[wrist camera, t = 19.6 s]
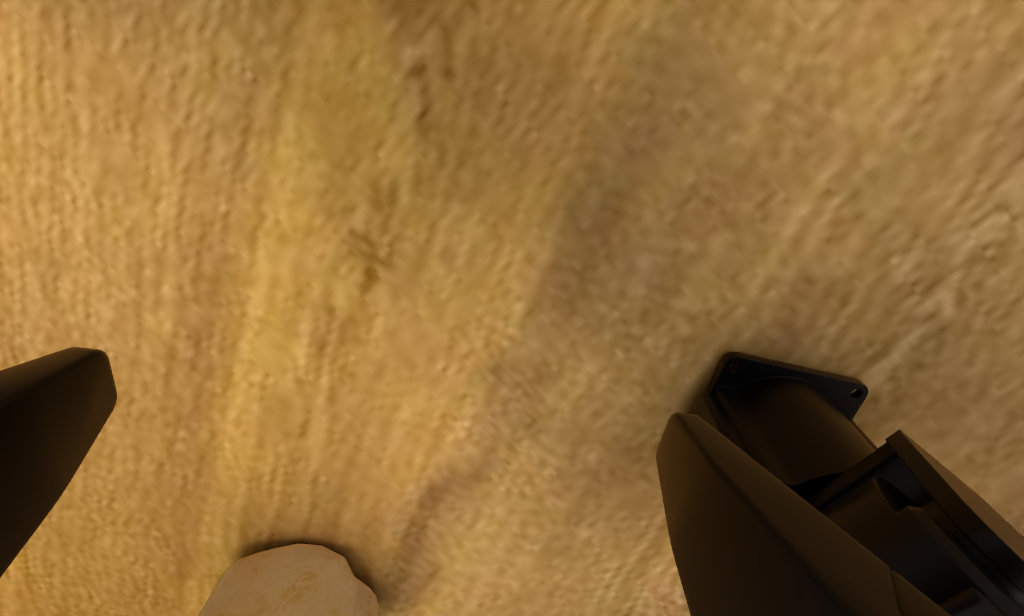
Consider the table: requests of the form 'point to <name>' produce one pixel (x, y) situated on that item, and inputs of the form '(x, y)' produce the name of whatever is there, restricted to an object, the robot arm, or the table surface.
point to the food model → (291, 586)
